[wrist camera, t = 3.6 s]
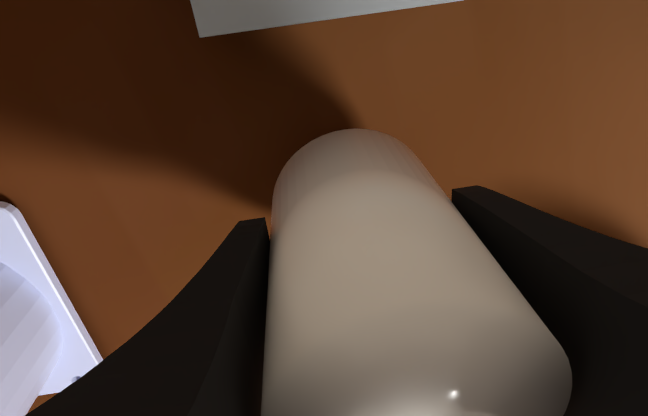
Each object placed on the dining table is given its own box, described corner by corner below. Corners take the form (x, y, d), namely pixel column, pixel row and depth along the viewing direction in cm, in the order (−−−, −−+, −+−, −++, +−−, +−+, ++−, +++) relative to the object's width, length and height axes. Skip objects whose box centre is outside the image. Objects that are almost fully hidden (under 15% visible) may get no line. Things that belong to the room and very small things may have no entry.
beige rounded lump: (286, 278, 13) (288, 523, 7) (257, 142, 10) (225, 333, 5) (429, 257, 13) (547, 481, 7) (429, 117, 10) (602, 277, 5)
